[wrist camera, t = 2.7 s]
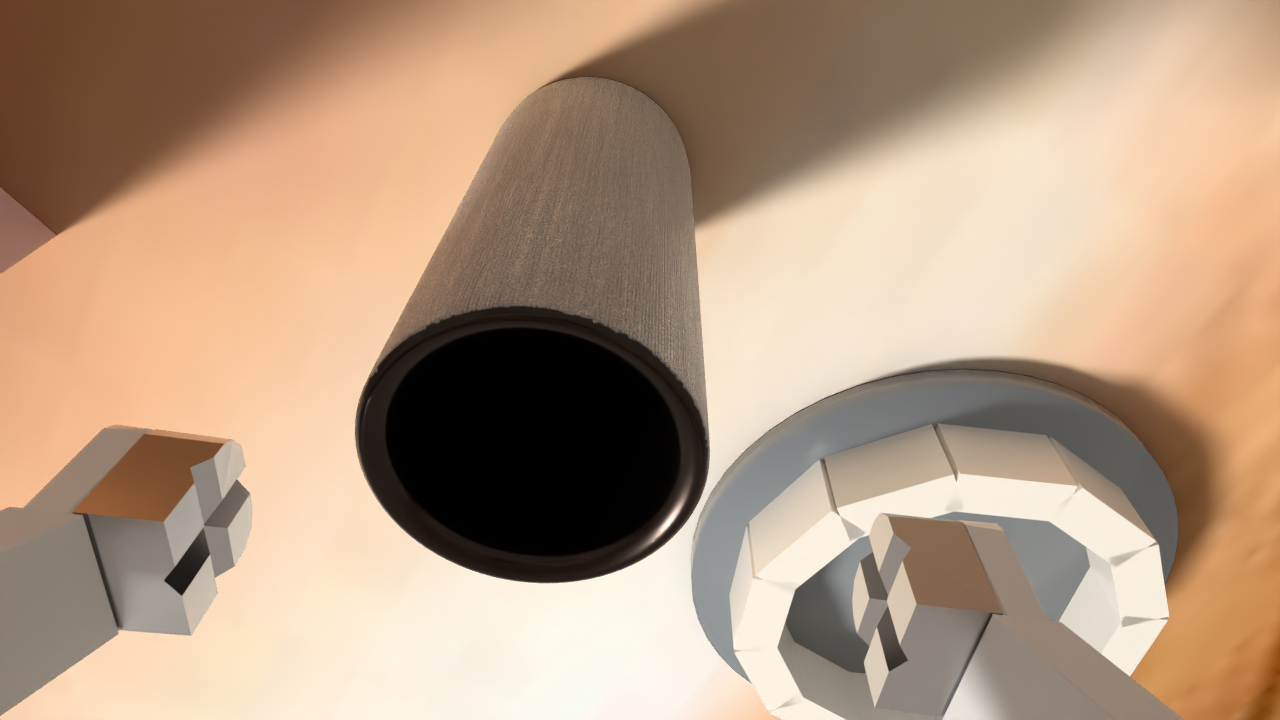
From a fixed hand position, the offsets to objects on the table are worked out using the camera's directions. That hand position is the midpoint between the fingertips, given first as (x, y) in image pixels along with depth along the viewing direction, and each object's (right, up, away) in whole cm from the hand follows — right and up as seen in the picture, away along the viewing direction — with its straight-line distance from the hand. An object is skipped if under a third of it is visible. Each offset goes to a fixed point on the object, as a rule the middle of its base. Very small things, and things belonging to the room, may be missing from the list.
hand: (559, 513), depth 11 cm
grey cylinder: (0, +6, +9) cm, 11 cm away
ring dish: (+10, -4, +15) cm, 18 cm away
